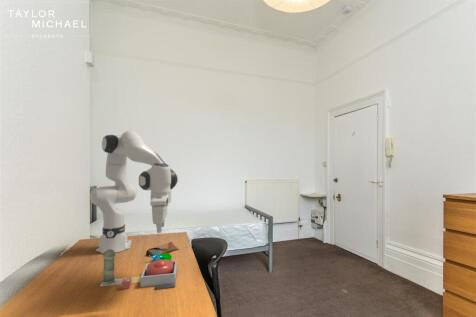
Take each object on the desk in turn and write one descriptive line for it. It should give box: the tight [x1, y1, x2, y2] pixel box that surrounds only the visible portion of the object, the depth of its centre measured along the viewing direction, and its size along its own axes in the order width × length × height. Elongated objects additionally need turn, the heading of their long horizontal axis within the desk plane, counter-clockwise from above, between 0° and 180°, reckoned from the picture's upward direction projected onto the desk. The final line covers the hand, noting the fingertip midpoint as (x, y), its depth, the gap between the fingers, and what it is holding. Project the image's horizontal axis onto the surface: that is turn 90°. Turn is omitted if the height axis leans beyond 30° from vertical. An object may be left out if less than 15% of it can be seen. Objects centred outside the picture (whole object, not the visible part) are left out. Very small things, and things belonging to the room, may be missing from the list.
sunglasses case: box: [145, 241, 179, 257], centre depth 132 cm, size 18×7×7 cm
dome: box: [147, 260, 173, 276], centre depth 100 cm, size 11×11×6 cm
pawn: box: [101, 249, 116, 286], centre depth 95 cm, size 5×5×14 cm
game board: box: [99, 260, 178, 291], centre depth 98 cm, size 16×31×5 cm, turn 102°
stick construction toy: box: [148, 249, 172, 262], centre depth 119 cm, size 12×7×8 cm
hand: (160, 229), depth 100 cm, fingers open, 8 cm apart
